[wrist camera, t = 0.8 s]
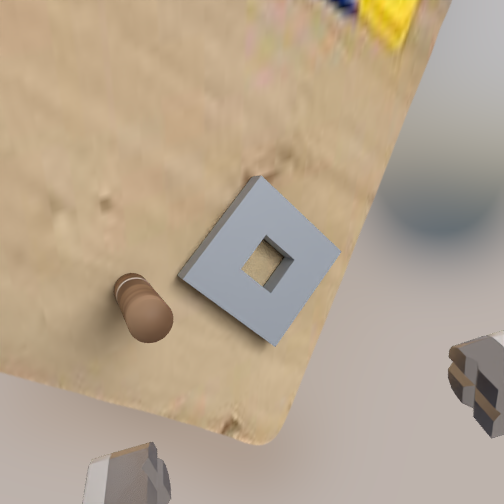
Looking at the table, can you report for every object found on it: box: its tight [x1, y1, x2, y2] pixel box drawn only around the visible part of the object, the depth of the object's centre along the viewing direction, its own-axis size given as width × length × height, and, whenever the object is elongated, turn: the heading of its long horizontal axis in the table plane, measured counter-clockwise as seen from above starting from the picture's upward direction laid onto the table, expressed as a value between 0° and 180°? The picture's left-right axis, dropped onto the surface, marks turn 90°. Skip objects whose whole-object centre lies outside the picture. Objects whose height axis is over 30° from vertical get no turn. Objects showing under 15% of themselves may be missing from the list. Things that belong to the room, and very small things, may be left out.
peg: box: [114, 273, 173, 343], centre depth 37 cm, size 4×4×12 cm
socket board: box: [178, 176, 341, 347], centre depth 47 cm, size 14×14×2 cm
